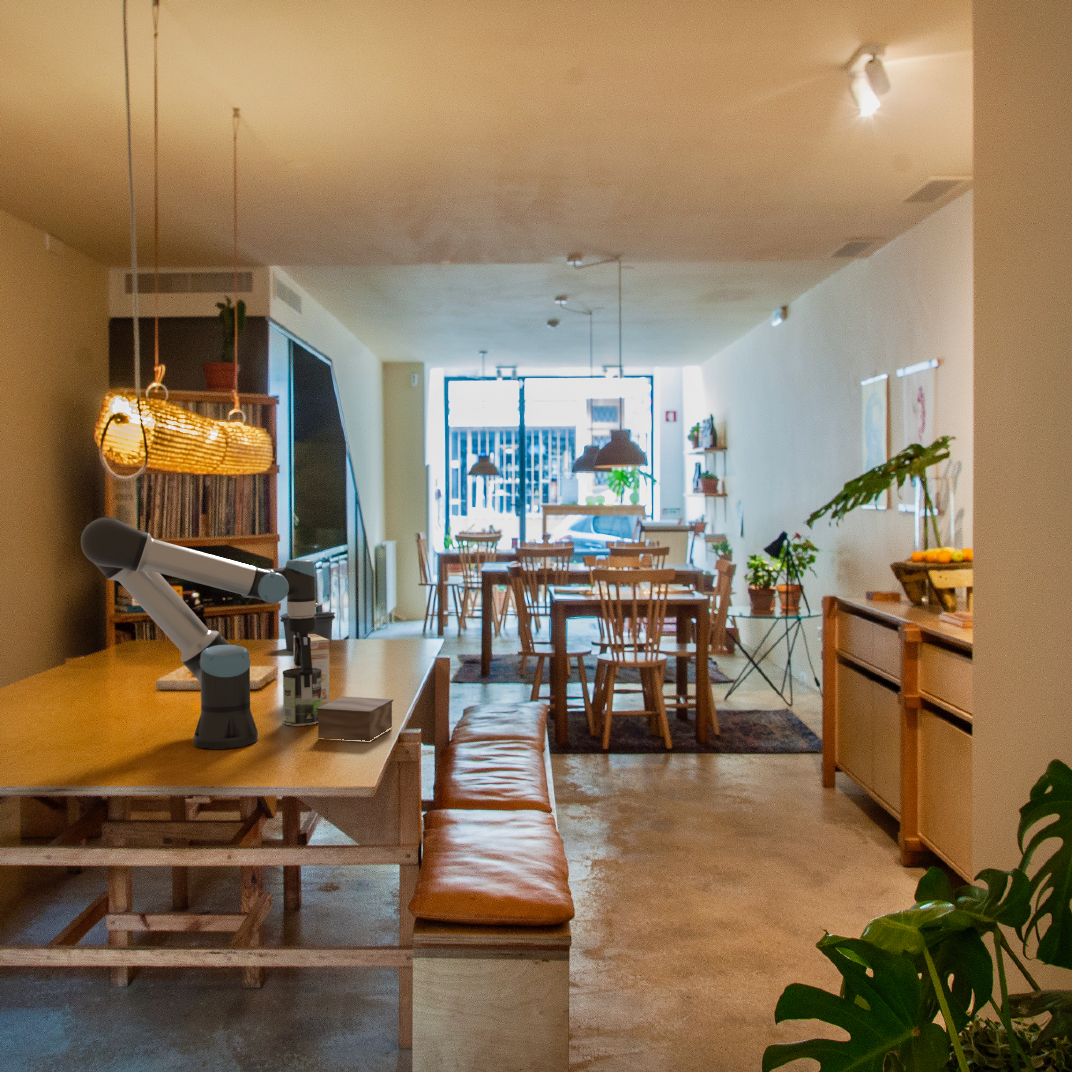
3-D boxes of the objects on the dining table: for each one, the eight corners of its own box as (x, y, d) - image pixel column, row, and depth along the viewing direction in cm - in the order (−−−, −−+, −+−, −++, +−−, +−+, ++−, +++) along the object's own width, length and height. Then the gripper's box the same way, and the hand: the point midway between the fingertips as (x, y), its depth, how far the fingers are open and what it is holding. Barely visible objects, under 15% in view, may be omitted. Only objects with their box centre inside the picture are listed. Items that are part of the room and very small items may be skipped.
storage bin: (278, 651, 370) (278, 616, 370) (285, 645, 386) (285, 611, 385) (332, 651, 372) (332, 615, 372) (337, 645, 388) (337, 611, 387)
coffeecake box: (330, 705, 273) (330, 639, 272) (306, 707, 269) (306, 641, 269) (316, 696, 286) (315, 633, 285) (293, 698, 282) (292, 634, 282)
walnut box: (370, 743, 229) (369, 711, 229) (316, 739, 233) (316, 708, 233) (393, 729, 244) (393, 699, 243) (342, 726, 247) (342, 696, 247)
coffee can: (328, 718, 256) (327, 667, 255) (311, 727, 246) (311, 674, 245) (293, 716, 258) (293, 666, 258) (276, 725, 248) (275, 673, 247)
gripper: (322, 621, 241) (324, 702, 242) (310, 610, 264) (312, 684, 265) (292, 622, 238) (294, 704, 239) (283, 612, 261) (284, 686, 262)
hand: (303, 694), depth 252 cm, fingers open, 13 cm apart
